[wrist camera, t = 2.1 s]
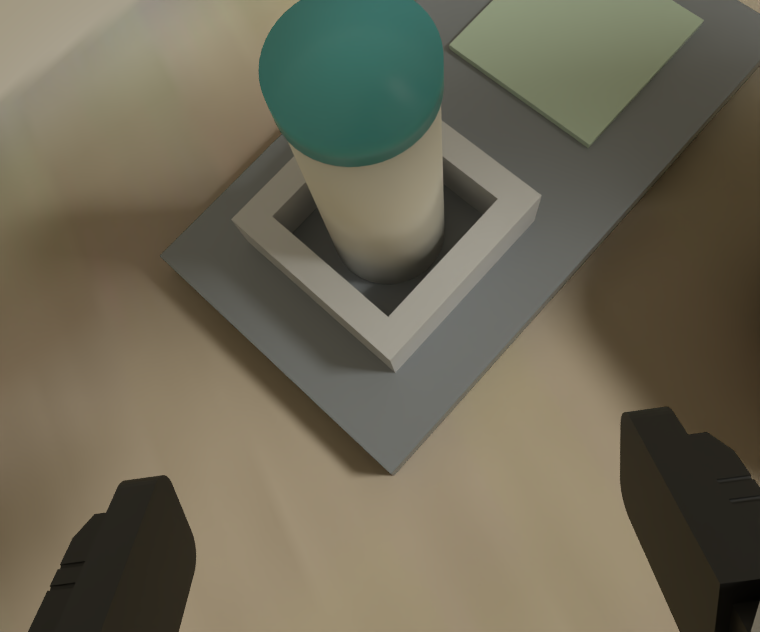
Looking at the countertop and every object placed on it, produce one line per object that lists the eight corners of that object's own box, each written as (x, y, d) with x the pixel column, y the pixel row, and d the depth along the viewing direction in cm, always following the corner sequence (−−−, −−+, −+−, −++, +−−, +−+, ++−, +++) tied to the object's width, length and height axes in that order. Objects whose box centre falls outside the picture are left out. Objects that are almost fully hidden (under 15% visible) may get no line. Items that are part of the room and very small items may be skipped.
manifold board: (534, -96, 36) (544, -169, 32) (772, 51, 32) (815, -10, 28) (172, 267, 32) (135, 234, 29) (393, 475, 29) (385, 470, 25)
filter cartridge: (385, 157, 31) (346, -47, 20) (470, 225, 30) (482, 48, 18) (308, 237, 31) (221, 73, 19) (392, 309, 29) (354, 181, 18)
